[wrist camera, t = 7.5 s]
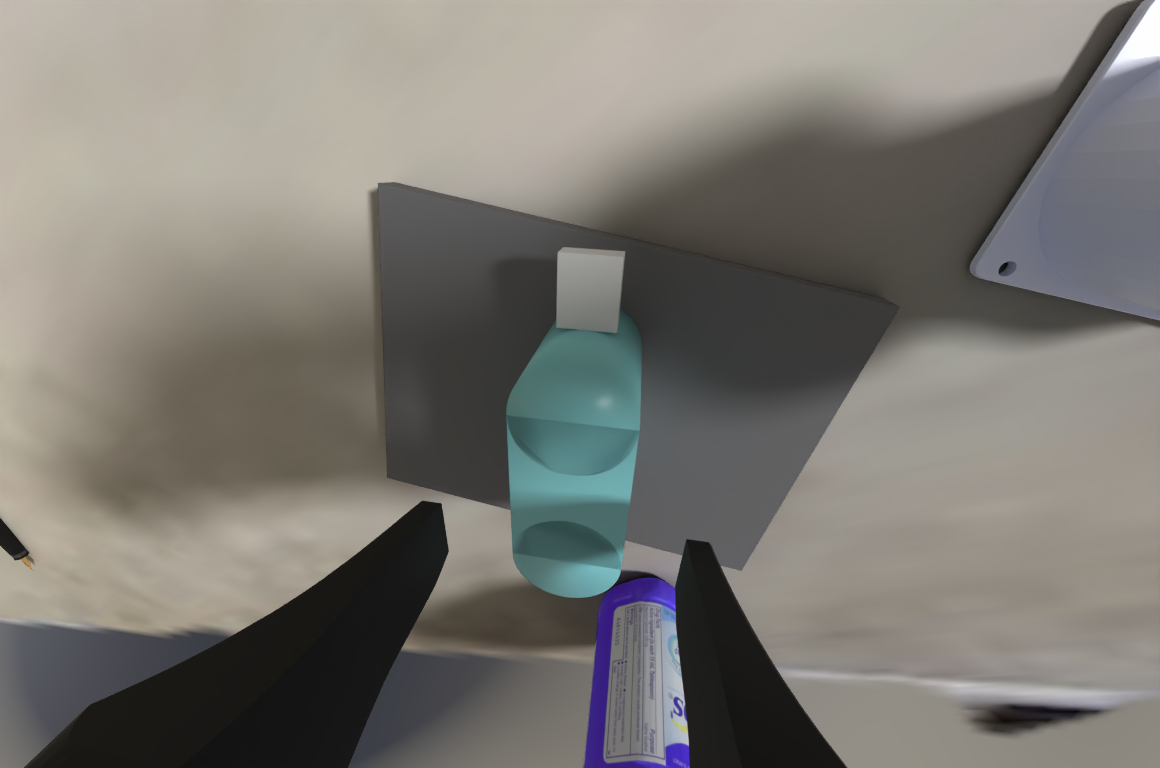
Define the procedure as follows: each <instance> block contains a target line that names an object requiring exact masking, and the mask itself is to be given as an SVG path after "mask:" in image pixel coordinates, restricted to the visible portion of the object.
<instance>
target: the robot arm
mask: <svg viewBox="0 0 1160 768" xmlns="http://www.w3.org/2000/svg"><path fill="white" fill-rule="evenodd" d="M1006 262H1008V266H1007V268H1006V269H1005V270H1004V271H1003V272H1001V273H999V272H998V270H999V268H1000V266H1001V265H1002V264H1004V263H1006ZM970 272H971V274H972V275H973V276H975V277H978V278H981V279H984V280H989V281H993V282H997V283H1001V284H1006V285H1010V286H1014V287H1019V288H1023V289H1027V290H1031V291H1036V292H1040V293H1044V294H1048V295H1053V296H1057V297H1061V298H1066V299H1070V300H1074V301H1078V302H1083V303H1087V304H1091V305H1095V306H1100V307H1104V308H1108V309H1112V310H1117V311H1121V312H1125V313H1130V314H1134V315H1138V316H1142V317H1147V318H1151V319H1155V320H1159V321H1160V0H1144V1H1143V2H1142V3H1141V4H1140V5H1139V6H1138V8H1137V9H1136V10H1135V12H1134V13H1133V15H1132V16H1131V18H1130V19H1129V21H1128V22H1127V24H1126V25H1125V27H1124V28H1123V30H1122V31H1121V33H1120V35H1119V36H1118V38H1117V39H1116V41H1115V42H1114V44H1113V45H1112V47H1111V48H1110V50H1109V51H1108V53H1107V54H1106V56H1105V58H1104V59H1103V61H1102V62H1101V64H1100V65H1099V67H1098V68H1097V70H1096V71H1095V73H1094V74H1093V76H1092V77H1091V79H1090V81H1089V82H1088V84H1087V85H1086V87H1085V88H1084V90H1083V91H1082V93H1081V94H1080V96H1079V97H1078V99H1077V100H1076V102H1075V104H1074V105H1073V107H1072V108H1071V110H1070V111H1069V113H1068V114H1067V116H1066V117H1065V119H1064V120H1063V122H1062V123H1061V125H1060V127H1059V128H1058V130H1057V131H1056V133H1055V134H1054V136H1053V137H1052V139H1051V140H1050V142H1049V143H1048V145H1047V146H1046V148H1045V150H1044V151H1043V153H1042V154H1041V156H1040V157H1039V159H1038V160H1037V162H1036V163H1035V165H1034V166H1033V168H1032V169H1031V171H1030V173H1029V174H1028V176H1027V177H1026V179H1025V180H1024V182H1023V183H1022V185H1021V186H1020V188H1019V189H1018V191H1017V192H1016V194H1015V196H1014V197H1013V199H1012V200H1011V202H1010V203H1009V205H1008V206H1007V208H1006V209H1005V211H1004V212H1003V214H1002V215H1001V217H1000V219H999V220H998V222H997V223H996V225H995V226H994V228H993V229H992V231H991V232H990V234H989V235H988V237H987V238H986V240H985V242H984V243H983V245H982V246H981V248H980V249H979V251H978V252H977V254H976V255H975V257H974V258H973V260H972V262H971V264H970ZM448 552H449V550H448V543H447V537H446V530H445V524H444V517H443V510H442V504H441V503H434V502H427V501H421V502H420V503H419V504H417V505H416V506H415V507H414V508H413V509H411V510H410V511H409V512H408V513H406V514H405V515H404V516H403V517H402V518H400V519H399V520H398V521H397V522H396V523H394V524H393V525H392V526H391V527H390V528H388V529H387V530H386V531H385V532H383V533H382V534H381V535H380V536H379V537H377V538H376V539H375V540H373V541H372V542H371V543H370V544H368V545H367V546H366V547H365V548H363V549H362V550H361V551H360V552H358V553H357V554H356V555H355V556H353V557H352V558H351V559H349V560H348V561H347V562H345V563H344V564H343V565H341V566H340V567H339V568H337V569H336V570H334V571H333V572H332V573H330V574H329V575H328V576H326V577H325V578H324V579H322V580H321V581H319V582H318V583H317V584H315V585H314V586H312V587H311V588H309V589H308V590H306V591H305V592H303V593H302V594H300V595H299V596H297V597H296V598H294V599H293V600H291V601H290V602H288V603H286V604H285V605H283V606H282V607H280V608H279V609H277V610H275V611H274V612H272V613H271V614H269V615H267V616H265V617H264V618H262V619H260V620H258V621H257V622H255V623H253V624H252V625H250V626H248V627H246V628H245V629H243V630H241V631H239V632H238V633H236V634H234V635H233V636H231V637H229V638H227V639H225V640H224V641H222V642H220V643H218V644H216V645H215V646H212V647H211V648H209V649H207V650H205V651H203V652H201V653H199V654H197V655H195V656H193V657H191V658H189V659H187V660H185V661H183V662H181V663H179V664H177V665H175V666H173V667H171V668H169V669H168V670H165V671H163V672H161V673H159V674H157V675H155V676H153V677H150V678H148V679H146V680H144V681H142V682H139V683H138V684H135V685H133V686H131V687H129V688H126V689H124V690H122V691H120V692H118V693H115V694H114V695H111V696H109V697H107V698H105V699H103V700H100V701H98V702H95V703H93V704H91V705H89V706H88V707H87V708H86V709H85V710H84V711H83V712H82V713H81V714H80V715H79V716H78V717H77V718H75V719H74V720H73V721H72V722H71V723H70V724H69V725H68V726H67V727H66V728H65V729H64V730H63V731H62V732H61V733H60V734H59V735H58V736H57V737H56V738H55V739H54V740H52V741H51V742H50V743H49V744H48V745H47V746H46V747H45V748H44V749H43V750H42V751H41V752H40V753H39V754H38V755H37V756H36V757H35V758H34V759H33V760H31V761H30V762H29V763H28V764H27V765H26V766H25V767H24V768H348V766H349V763H350V761H351V759H352V756H353V754H354V751H355V749H356V747H357V744H358V741H359V739H360V737H361V734H362V732H363V729H364V727H365V725H366V722H367V720H368V718H369V715H370V713H371V711H372V709H373V706H374V704H375V702H376V699H377V697H378V695H379V693H380V690H381V688H382V686H383V683H384V681H385V679H386V677H387V675H388V673H389V670H390V669H391V667H392V665H393V663H394V661H395V659H396V657H397V656H398V654H399V652H400V650H401V648H402V646H403V644H404V643H405V641H406V639H407V637H408V635H409V633H410V632H411V630H412V628H413V626H414V624H415V622H416V620H417V619H418V617H419V615H420V613H421V611H422V609H423V607H424V606H425V604H426V602H427V600H428V598H429V596H430V594H431V592H432V591H433V589H434V587H435V585H436V582H437V580H438V577H439V575H440V573H441V570H442V568H443V565H444V562H445V560H446V557H447V555H448ZM675 607H676V631H677V640H678V649H679V657H680V666H681V674H682V683H683V691H684V700H685V708H686V716H687V727H688V739H689V763H690V768H847V767H846V766H845V764H844V763H843V762H842V760H841V759H840V758H839V756H838V755H837V754H836V753H835V751H834V750H833V749H832V747H831V746H830V745H829V744H828V742H827V741H826V740H825V738H824V737H823V736H822V734H821V733H820V732H819V730H818V729H817V728H816V726H815V725H814V723H813V722H812V721H811V719H810V718H809V716H808V715H807V714H806V712H805V711H804V709H803V708H802V706H801V705H800V704H799V702H798V701H797V699H796V698H795V696H794V695H793V693H792V692H791V690H790V689H789V687H788V686H787V684H786V683H785V681H784V680H783V678H782V677H781V675H780V674H779V672H778V670H777V669H776V667H775V666H774V664H773V662H772V661H771V659H770V658H769V656H768V654H767V653H766V651H765V649H764V648H763V646H762V644H761V643H760V641H759V639H758V637H757V636H756V634H755V632H754V630H753V629H752V627H751V625H750V623H749V621H748V620H747V618H746V616H745V614H744V612H743V610H742V608H741V607H740V605H739V603H738V601H737V599H736V597H735V595H734V593H733V591H732V589H731V587H730V585H729V583H728V581H727V579H726V577H725V575H724V573H723V570H722V568H721V566H720V564H719V562H718V559H717V557H716V555H715V552H714V550H713V547H712V545H711V544H710V543H709V542H704V541H697V540H690V539H686V543H685V547H684V551H683V556H682V560H681V564H680V569H679V573H678V577H677V582H676V586H675Z"/></svg>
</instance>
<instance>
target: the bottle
mask: <svg viewBox="0 0 1160 768" xmlns="http://www.w3.org/2000/svg"><path fill="white" fill-rule="evenodd" d="M597 621H598V623H597V633H596V641H595V652H594V662H593V673H592V683H591V693H590V703H589V714H588V723H587V733H586V742H585V751H584V761H583V768H690V763H689V739H688V727H687V716H686V708H685V700H684V691H683V683H682V674H681V666H680V657H679V649H678V640H677V631H676V607H675V588H674V587H673V586H671V585H670V584H668V583H666V582H665V581H663V580H661V579H658V578H640V579H635V580H632V581H630V582H626V583H622V584H619V585H617V586H615V587H613V588H612V589H610V590H609V591H608V592H607V593H606V594H605V596H604V598H603V600H602V602H601V605H600V608H599V612H598V618H597Z"/></svg>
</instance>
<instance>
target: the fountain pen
mask: <svg viewBox="0 0 1160 768" xmlns="http://www.w3.org/2000/svg"><path fill="white" fill-rule="evenodd" d="M0 546H1V547H2V548H3V549H4V550H5V551H6V552H8V553H9V554H10V555H11V556H12V557H13V558H14V560H19V559H21V560H22V561H23V563H24V564H25V565H27V566H28V567H29V568H30V569H32V568H31V565H30V562H29V561H28V559H27V558H26V556H27V555H28V554H29V553H28V552H27V551H26V550H25V548H24V547H23V546H22V544H21V543H20V542H19V541H18V539H17V538H16V537H15V535H14V534H13V533H12V532H11V530H10V529H9V528H8V527H7V526H6V524H5V523H4V522H3V521H2V520H1V519H0Z"/></svg>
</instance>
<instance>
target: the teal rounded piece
mask: <svg viewBox="0 0 1160 768" xmlns="http://www.w3.org/2000/svg"><path fill="white" fill-rule="evenodd" d="M624 260H625V251H613V250H599V249H585V248H570V247H563V248H562V249H561V250H560V251H558V258H557V314H556V320H555V322H554V323H553V325H552V326H551V328H550V330H549V331H548V333H547V334H546V336H545V338H544V339H543V341H542V342H541V344H540V346H539V347H538V349H537V351H536V352H535V354H534V355H533V357H532V359H531V360H530V362H529V363H528V365H527V367H526V368H525V370H524V371H523V373H522V375H521V376H520V378H519V379H518V381H517V383H516V384H515V386H514V388H513V389H512V391H511V393H510V396H509V399H508V403H507V409H506V419H507V440H508V462H509V484H510V505H511V527H512V549H513V559H514V562H515V564H516V566H517V568H518V570H519V571H520V573H521V574H522V575H523V576H524V577H525V578H526V579H527V580H528V581H529V582H531V583H532V584H533V585H535V586H536V587H538V588H540V589H542V590H544V591H546V592H549V593H551V594H555V595H558V596H563V597H570V598H585V597H591V596H595V595H598V594H600V593H603V592H605V591H606V590H608V589H609V588H611V587H612V586H613V585H614V584H615V583H616V581H617V580H618V578H619V576H620V572H621V566H622V559H623V551H624V544H625V536H626V529H627V521H628V514H629V506H630V499H631V491H632V484H633V476H634V469H635V462H636V454H637V447H638V439H639V432H640V407H641V372H642V339H641V335H640V332H639V329H638V327H637V325H636V324H635V322H634V321H633V319H632V318H631V317H630V316H629V315H628V314H627V313H626V312H625V311H623V310H622V309H620V303H621V293H622V282H623V271H624Z"/></svg>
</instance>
